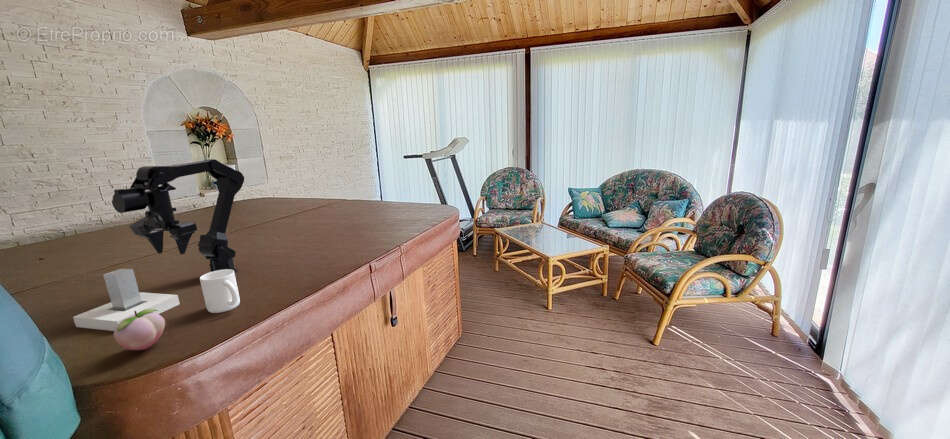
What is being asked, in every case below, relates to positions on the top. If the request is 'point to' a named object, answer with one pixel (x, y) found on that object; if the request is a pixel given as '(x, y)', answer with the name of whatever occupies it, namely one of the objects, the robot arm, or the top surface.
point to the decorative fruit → (139, 330)
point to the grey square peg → (122, 289)
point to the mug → (220, 290)
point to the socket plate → (110, 319)
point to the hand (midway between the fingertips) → (171, 253)
